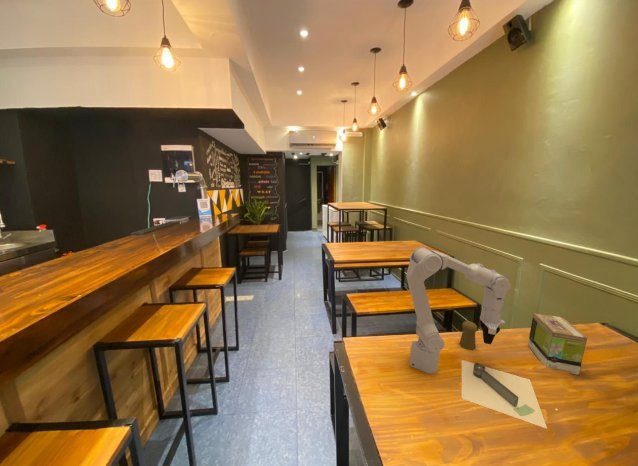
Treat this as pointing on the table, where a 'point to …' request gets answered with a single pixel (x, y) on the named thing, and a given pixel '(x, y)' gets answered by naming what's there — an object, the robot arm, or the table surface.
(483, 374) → the pointer
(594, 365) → the table surface
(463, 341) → the cork
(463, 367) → the dial board
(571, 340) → the tea box
